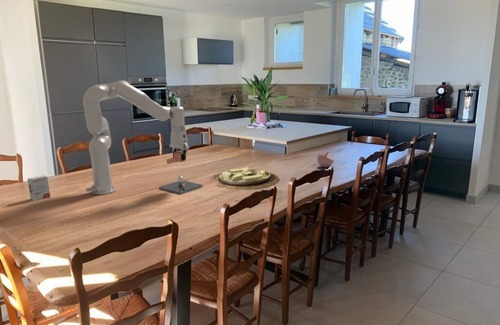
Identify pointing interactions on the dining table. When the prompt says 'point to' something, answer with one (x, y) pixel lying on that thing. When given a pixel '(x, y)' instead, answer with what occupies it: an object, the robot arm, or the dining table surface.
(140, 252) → the dining table surface
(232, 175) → the plate
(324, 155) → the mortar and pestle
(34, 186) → the ink box
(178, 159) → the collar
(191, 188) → the post plate
